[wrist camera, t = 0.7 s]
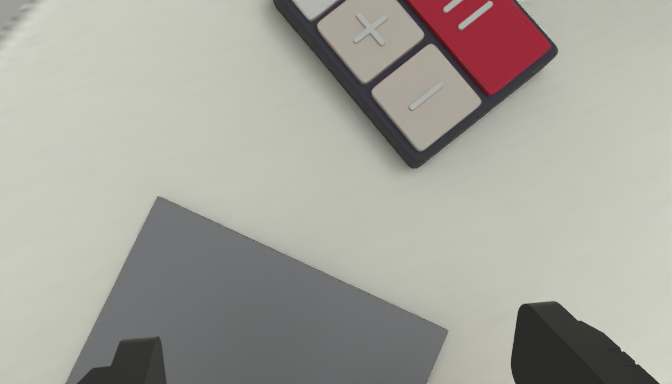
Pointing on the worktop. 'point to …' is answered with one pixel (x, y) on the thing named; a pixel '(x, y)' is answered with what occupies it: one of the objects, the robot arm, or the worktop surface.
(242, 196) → the worktop surface
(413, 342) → the mat
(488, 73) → the calculator
